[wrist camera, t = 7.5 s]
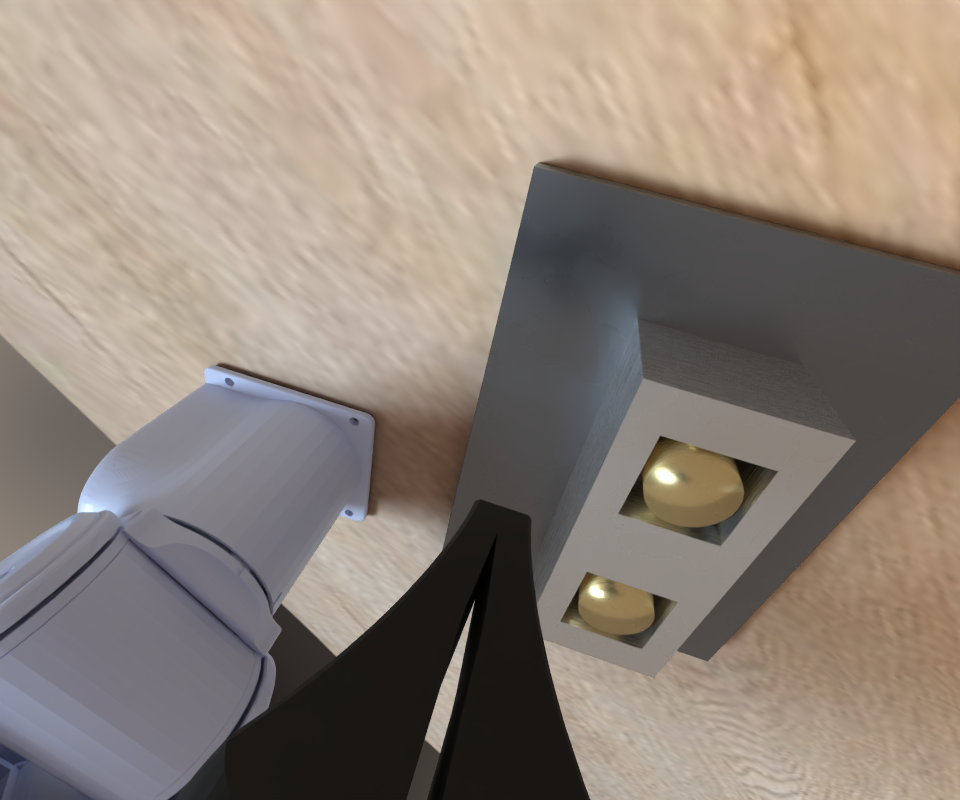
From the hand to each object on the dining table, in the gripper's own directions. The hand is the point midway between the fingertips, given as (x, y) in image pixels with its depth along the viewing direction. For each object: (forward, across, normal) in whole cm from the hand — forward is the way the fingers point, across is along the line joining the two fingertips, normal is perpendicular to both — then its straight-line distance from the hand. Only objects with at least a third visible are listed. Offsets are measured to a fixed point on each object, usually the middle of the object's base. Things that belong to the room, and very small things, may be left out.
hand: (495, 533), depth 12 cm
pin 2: (+9, -6, +1) cm, 11 cm away
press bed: (+10, -6, +4) cm, 13 cm away
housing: (+9, -6, +4) cm, 12 cm away
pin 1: (+9, -6, +8) cm, 13 cm away
